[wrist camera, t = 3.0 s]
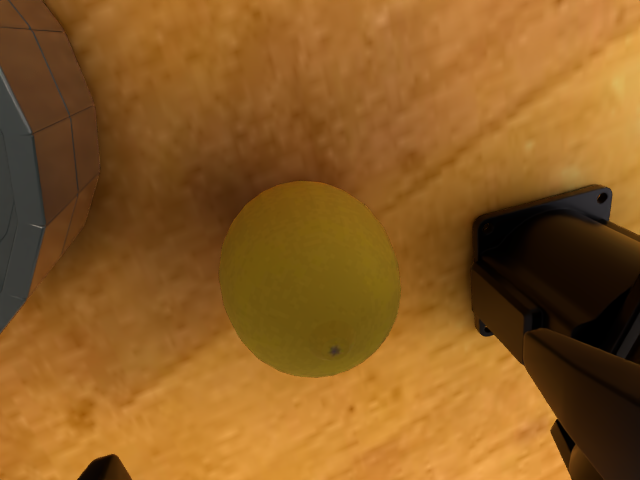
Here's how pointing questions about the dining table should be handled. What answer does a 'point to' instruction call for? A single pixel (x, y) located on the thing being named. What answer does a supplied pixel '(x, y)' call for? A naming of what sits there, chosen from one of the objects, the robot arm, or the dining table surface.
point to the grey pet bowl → (40, 149)
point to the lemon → (309, 279)
